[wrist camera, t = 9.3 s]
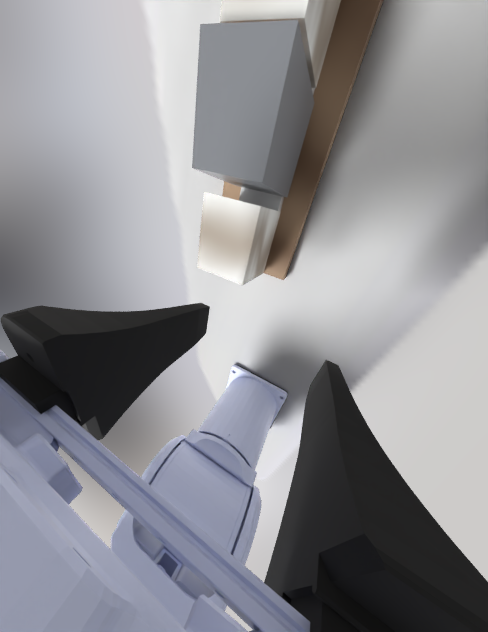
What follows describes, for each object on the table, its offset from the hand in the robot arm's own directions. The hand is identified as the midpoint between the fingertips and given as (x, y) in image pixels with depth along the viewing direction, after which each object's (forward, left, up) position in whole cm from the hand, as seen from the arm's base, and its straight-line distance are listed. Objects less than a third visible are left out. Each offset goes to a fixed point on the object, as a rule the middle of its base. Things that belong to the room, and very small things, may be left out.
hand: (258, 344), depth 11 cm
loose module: (+10, +5, -8) cm, 14 cm away
